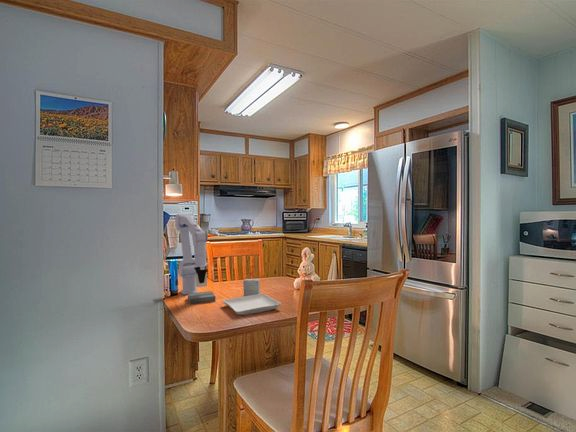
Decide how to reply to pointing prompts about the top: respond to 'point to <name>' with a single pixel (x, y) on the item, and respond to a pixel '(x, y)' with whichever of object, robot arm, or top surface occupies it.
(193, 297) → the slate panel
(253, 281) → the medicine box
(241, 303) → the salad plate
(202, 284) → the cream block
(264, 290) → the top surface
